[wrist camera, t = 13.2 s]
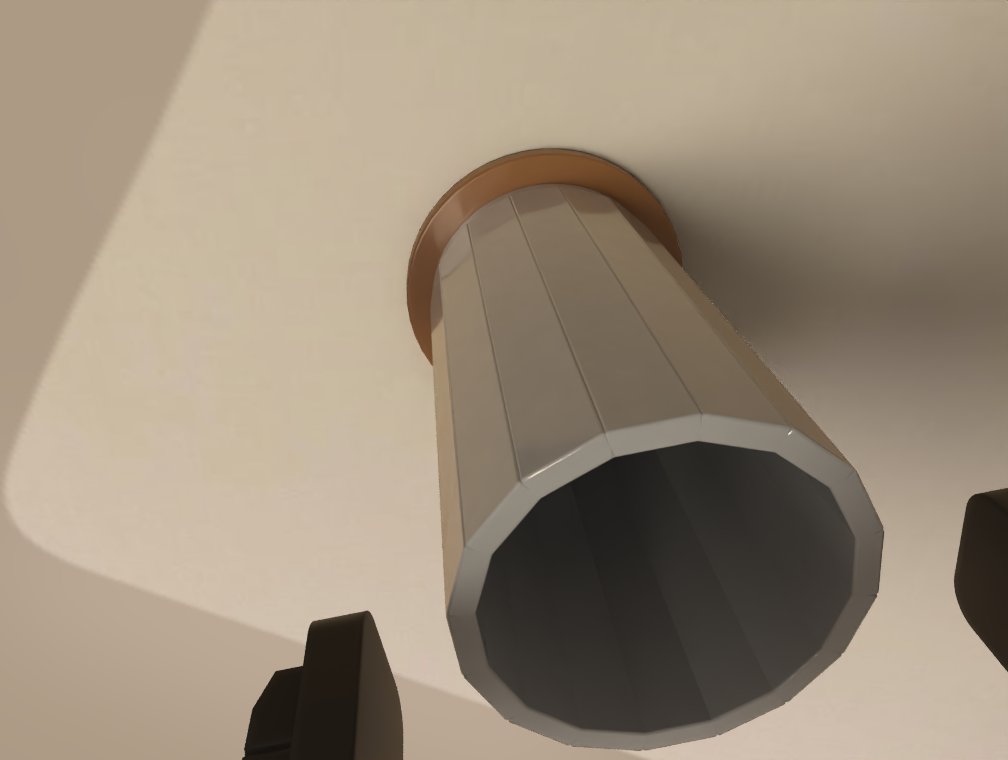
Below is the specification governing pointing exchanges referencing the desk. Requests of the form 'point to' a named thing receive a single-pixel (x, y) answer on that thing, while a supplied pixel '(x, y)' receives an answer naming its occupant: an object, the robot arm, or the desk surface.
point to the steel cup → (627, 488)
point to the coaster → (502, 180)
